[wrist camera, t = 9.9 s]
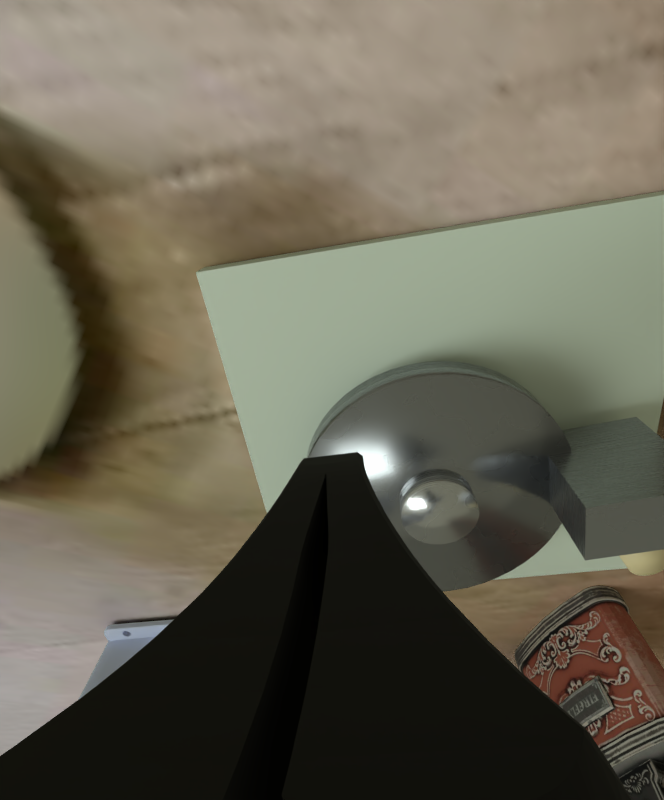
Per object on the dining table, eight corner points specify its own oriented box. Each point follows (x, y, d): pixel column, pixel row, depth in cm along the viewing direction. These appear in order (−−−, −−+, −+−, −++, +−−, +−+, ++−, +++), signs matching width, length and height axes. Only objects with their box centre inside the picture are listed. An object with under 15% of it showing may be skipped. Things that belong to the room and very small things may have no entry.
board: (293, 582, 26) (280, 678, 21) (203, 267, 18) (148, 303, 13) (620, 553, 24) (690, 651, 19) (684, 187, 16) (835, 192, 11)
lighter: (588, 577, 25) (724, 804, 16) (635, 597, 25) (791, 827, 16) (501, 656, 28) (572, 880, 19) (544, 672, 29) (633, 896, 20)
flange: (337, 580, 23) (335, 668, 19) (274, 392, 18) (252, 455, 14) (627, 538, 21) (694, 625, 17) (643, 314, 16) (742, 362, 12)
